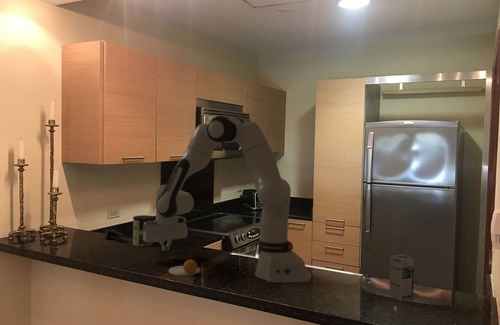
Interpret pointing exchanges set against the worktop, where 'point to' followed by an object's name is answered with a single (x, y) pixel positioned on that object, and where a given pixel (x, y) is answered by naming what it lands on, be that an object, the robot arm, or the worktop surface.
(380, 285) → the worktop surface
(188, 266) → the ball
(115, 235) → the can opener
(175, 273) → the disc
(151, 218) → the coffee can
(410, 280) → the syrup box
